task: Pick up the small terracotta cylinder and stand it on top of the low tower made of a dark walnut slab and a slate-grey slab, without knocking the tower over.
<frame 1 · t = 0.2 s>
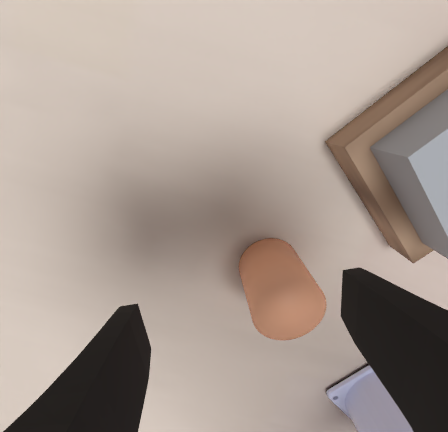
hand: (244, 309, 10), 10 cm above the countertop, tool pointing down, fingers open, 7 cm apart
cylinder: (268, 264, 21), on the countertop
tower base: (418, 151, 19), on the countertop
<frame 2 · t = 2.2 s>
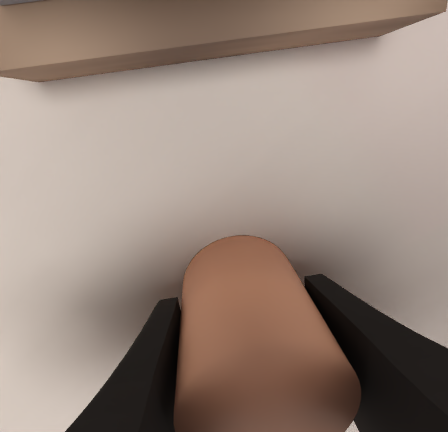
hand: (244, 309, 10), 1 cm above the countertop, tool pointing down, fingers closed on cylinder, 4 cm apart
cylinder: (238, 285, 11), on the countertop, touching gripper
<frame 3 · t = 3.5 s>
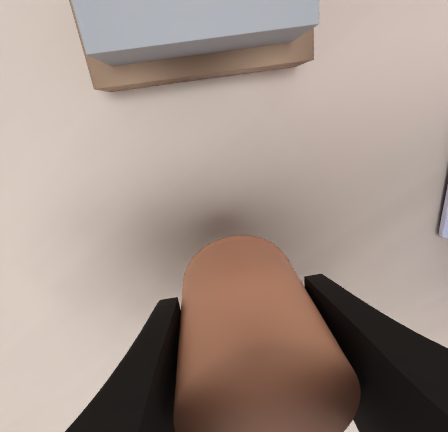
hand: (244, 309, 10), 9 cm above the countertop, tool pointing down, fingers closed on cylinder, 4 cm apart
cylinder: (238, 285, 11), point 7 cm above the countertop, touching gripper
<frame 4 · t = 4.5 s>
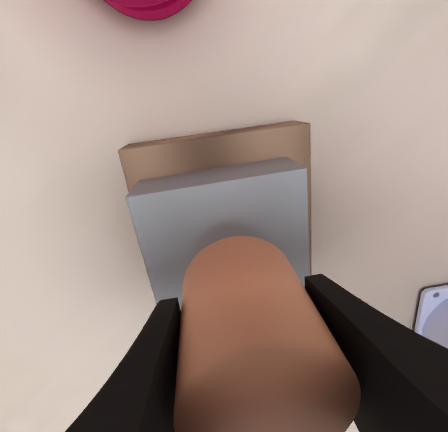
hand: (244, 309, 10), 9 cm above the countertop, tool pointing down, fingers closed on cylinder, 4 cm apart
cylinder: (238, 285, 11), point 8 cm above the countertop, touching gripper
tower top: (223, 234, 16), point 2 cm above the countertop, touching tower base
tower base: (222, 207, 19), on the countertop, touching tower top
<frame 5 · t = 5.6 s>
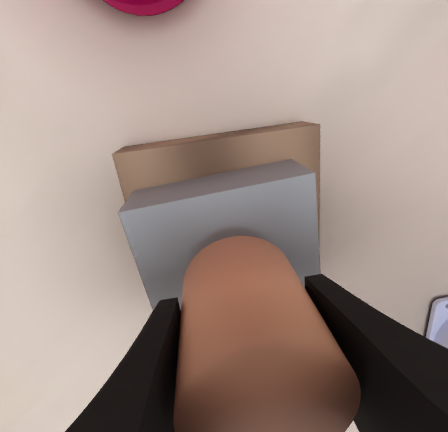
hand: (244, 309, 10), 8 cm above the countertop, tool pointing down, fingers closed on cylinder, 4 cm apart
cylinder: (238, 285, 11), point 7 cm above the countertop, touching gripper
tower top: (226, 244, 15), point 2 cm above the countertop
tower base: (224, 212, 18), on the countertop
when the fingers open (8 cm above the countertop, at t = 6.0 s): cylinder drops 1 cm, resting on tower top.
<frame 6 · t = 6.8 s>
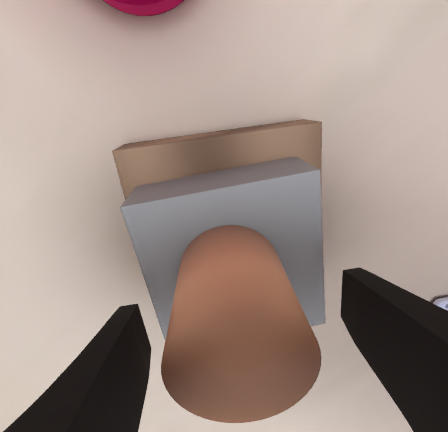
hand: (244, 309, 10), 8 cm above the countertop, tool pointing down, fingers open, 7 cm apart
cylinder: (229, 270, 12), point 5 cm above the countertop, touching tower top
tower top: (229, 241, 15), point 2 cm above the countertop, touching cylinder, tower base
tower base: (225, 211, 18), on the countertop, touching tower top
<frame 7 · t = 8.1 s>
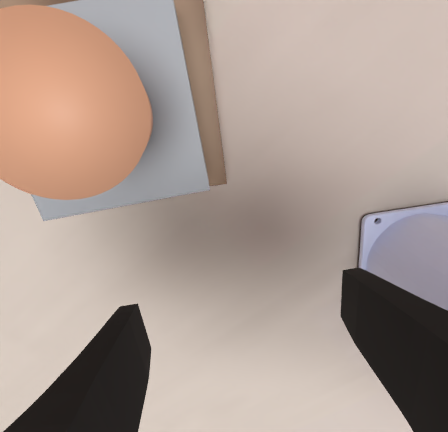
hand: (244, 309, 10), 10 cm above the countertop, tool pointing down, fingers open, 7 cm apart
cylinder: (97, 115, 11), point 6 cm above the countertop, tilted 8°, touching tower top
tower top: (117, 114, 14), point 2 cm above the countertop, touching cylinder, tower base
tower base: (131, 104, 17), on the countertop, touching tower top
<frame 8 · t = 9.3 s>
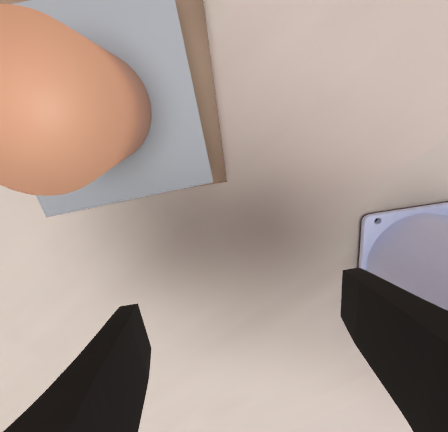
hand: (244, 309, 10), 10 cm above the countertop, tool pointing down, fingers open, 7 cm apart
cylinder: (97, 109, 12), point 5 cm above the countertop, touching tower top
tower top: (118, 109, 14), point 2 cm above the countertop, touching cylinder
tower base: (130, 102, 17), on the countertop
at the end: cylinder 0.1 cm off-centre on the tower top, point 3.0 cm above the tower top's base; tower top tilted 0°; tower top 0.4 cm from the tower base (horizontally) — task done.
